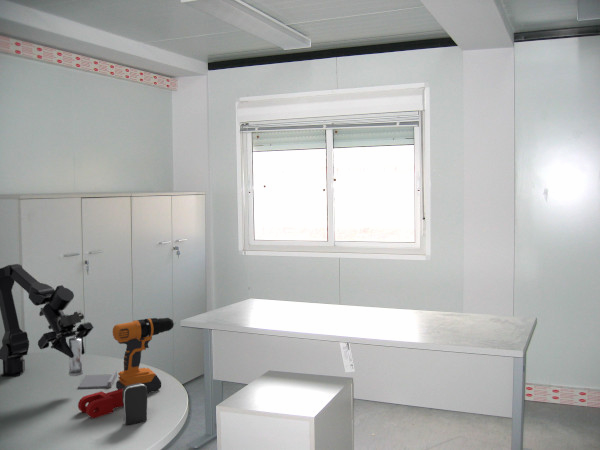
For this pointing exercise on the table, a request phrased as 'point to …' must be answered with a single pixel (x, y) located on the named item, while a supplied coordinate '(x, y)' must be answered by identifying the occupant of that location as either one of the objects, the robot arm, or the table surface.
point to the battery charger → (134, 403)
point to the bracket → (98, 381)
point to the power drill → (139, 350)
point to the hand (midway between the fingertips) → (78, 355)
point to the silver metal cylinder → (75, 357)
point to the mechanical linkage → (101, 403)
